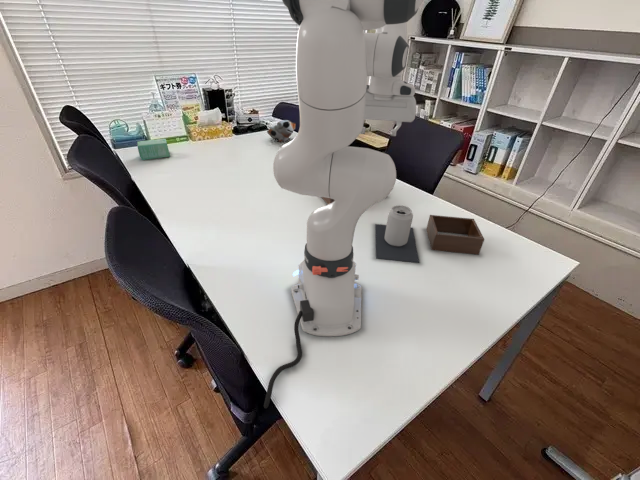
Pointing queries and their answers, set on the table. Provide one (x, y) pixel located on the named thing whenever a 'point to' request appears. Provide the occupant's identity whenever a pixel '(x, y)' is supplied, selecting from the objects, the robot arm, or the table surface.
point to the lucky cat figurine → (282, 130)
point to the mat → (395, 247)
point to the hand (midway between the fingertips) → (377, 134)
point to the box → (153, 149)
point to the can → (398, 225)
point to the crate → (454, 242)
